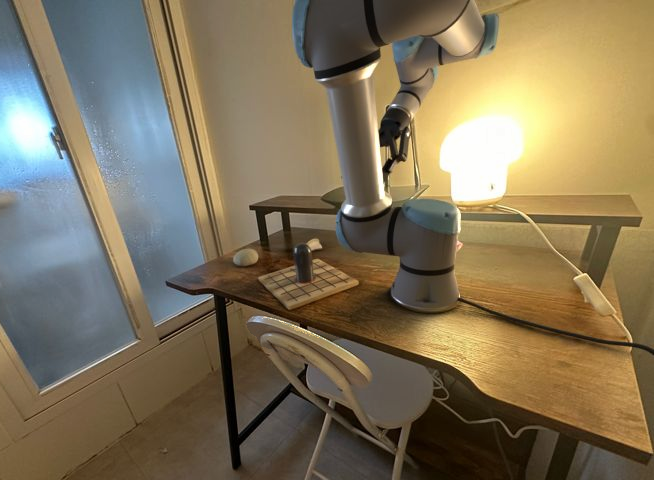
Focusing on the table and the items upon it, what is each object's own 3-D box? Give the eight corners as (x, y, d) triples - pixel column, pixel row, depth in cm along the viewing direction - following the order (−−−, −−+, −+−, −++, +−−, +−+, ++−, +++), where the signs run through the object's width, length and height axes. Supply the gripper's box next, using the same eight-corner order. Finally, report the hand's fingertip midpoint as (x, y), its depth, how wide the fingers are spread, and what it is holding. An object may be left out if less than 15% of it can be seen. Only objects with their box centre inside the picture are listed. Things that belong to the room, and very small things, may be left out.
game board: (358, 284, 85) (358, 280, 84) (289, 310, 78) (288, 306, 77) (317, 261, 103) (317, 258, 103) (258, 280, 96) (258, 276, 96)
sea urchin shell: (226, 260, 110) (236, 241, 111) (241, 269, 116) (250, 250, 117) (241, 265, 104) (251, 245, 105) (256, 274, 109) (265, 254, 110)
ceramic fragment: (317, 243, 119) (317, 233, 118) (329, 244, 116) (328, 234, 115) (298, 256, 110) (297, 247, 108) (311, 258, 107) (310, 248, 105)
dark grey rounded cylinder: (317, 278, 89) (314, 243, 84) (301, 284, 87) (297, 248, 82) (308, 273, 93) (305, 239, 88) (293, 278, 91) (289, 243, 87)
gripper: (445, 121, 78) (403, 192, 78) (372, 129, 98) (338, 186, 98) (434, 99, 73) (389, 174, 74) (359, 112, 93) (325, 172, 94)
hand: (360, 181), depth 86 cm, fingers open, 13 cm apart
